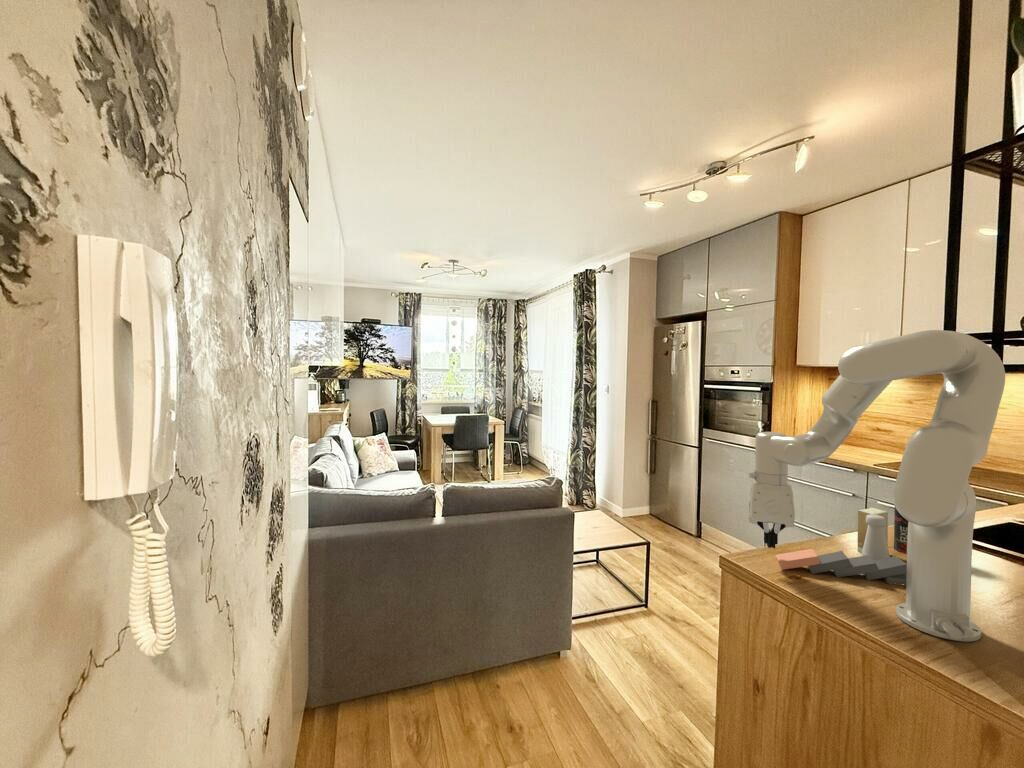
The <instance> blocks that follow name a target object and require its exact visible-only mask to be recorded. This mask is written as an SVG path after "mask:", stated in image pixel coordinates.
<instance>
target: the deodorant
mask: <svg viewBox="0 0 1024 768" xmlns="http://www.w3.org/2000/svg"><path fill="white" fill-rule="evenodd" d="M893 515H894V518H893V519H894V523H893V525H894V526H893V550H895V551H897V552H898V553H902V554H906V555H907V535H908V522H909V521H908V520H906V519H905V518H904V517H903V516H902V515H901V514H900V513H899V512H898V510H897V509H896V507H895V506H894V514H893Z"/></svg>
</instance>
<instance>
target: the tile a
mask: <svg viewBox="0 0 1024 768" xmlns="http://www.w3.org/2000/svg"><path fill="white" fill-rule="evenodd" d="M817 556H818V559H819V562H820V564H817V565H810V566H806V567H807V568H808V570H809V571H810V573H811V574H812V575H814V574H818V573H819V574H820V573H823V572H829V571H832V570H835V569H840V568H846V567H851V563H850V561H849V559H848V558H849V557H848V556H847V555H846V554H845V553H844V552H843V550H839V551H835V552H834V551H833V552H830V553H826V554H825V553H824V554H820V555H817Z"/></svg>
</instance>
